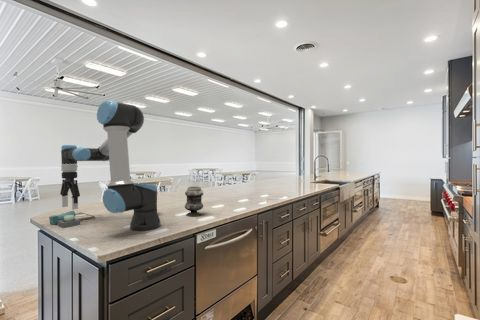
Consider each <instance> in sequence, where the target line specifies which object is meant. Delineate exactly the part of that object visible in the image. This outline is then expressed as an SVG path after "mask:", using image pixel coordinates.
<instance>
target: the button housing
mask: <svg viewBox="0 0 480 320" xmlns="http://www.w3.org/2000/svg"><path fill="white" fill-rule="evenodd" d="M56 225H57V227H60V228H63V229H65V228H70V227H74V226H76V227H77V226H79V225H81V221H80V220H79V219H76V218H74V221H70V222H64V220H60V221H57V224H56Z"/></svg>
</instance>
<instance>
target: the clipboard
mask: <svg viewBox="0 0 480 320" xmlns="http://www.w3.org/2000/svg"><path fill="white" fill-rule="evenodd" d="M75 214H76V216H75V217H74V218H76V219H79V220H80V222H81V221H87V220H92V219H96V216H95V215H92V214H88V213H85V212H75Z"/></svg>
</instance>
